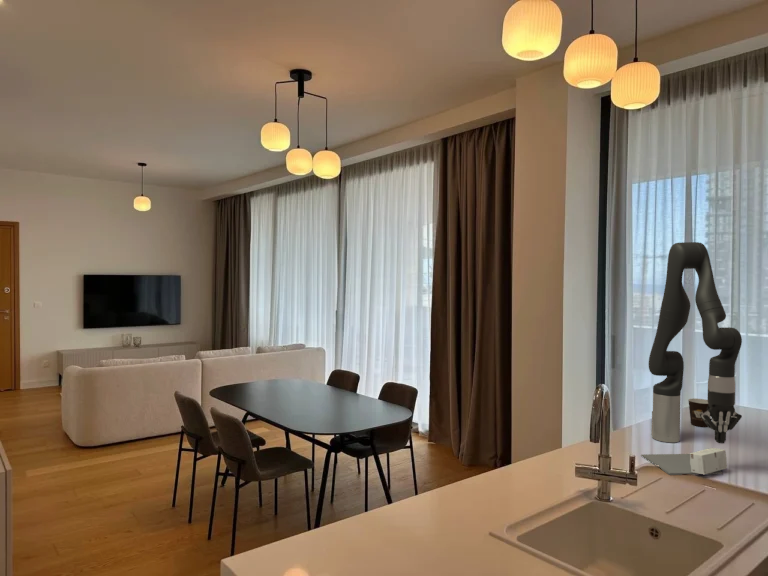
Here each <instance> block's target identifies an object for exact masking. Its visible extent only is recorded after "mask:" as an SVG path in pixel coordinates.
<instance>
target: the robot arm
mask: <svg viewBox="0 0 768 576" xmlns="http://www.w3.org/2000/svg"><path fill="white" fill-rule="evenodd" d="M689 269H691V270H692V269H693V270H695V272H696V274H697V277H698V282H697V283H698V285H697V288H696V292H695V297H694V298H695V299H694V300H695V304H696V307H697V310H698V311H697V312H698V313H699V315H700V318H701V324H702V325H701V327H702V339H703V342H704V344H705V345H706V346H707V348H709V349H711V350H715V351H716V350H720V352H719V354H718V355H715V356H712V357H710V359H709V363H708V379H707V399H706V400H707V401H708V407H707V411H706V412H705V413H704V414H703V413H701V414H700V416H701V418H702V419H703V420H704V422H705V423H706V424H707V426H708V427H707V428H708V429H711V430H713V431H714V440H715V442H716V443H717V444H725V442H726V441H727V432H728V431H732V430H733V429H734V428H735V427H736V425H737V424H738V423H739V421H740V420H741V419H742V418H743V417H742V415H741V414H739V413H737V412H736V409H735V405H736V378H735V377H736V376H735V375H736V374H735V373H736V368H735V367H736V365H735V364H736V362H737V359H738V357H739V353H740V352H741V351H740V350H741V348H742V343H743V339H742V334H741V333H740V331H739V330H738V329H737V328H735V327H729V326H728V327H719V326H718V324H719V323H722V322H723V321H725V320H726V317H727V313H726V310H725V309H724V306H723V304H722V301H721V299H720V296H719V294H718V290H717V288H716V287H717V286H716V284H715V278H714V273H713V268H712V263H711V259H710V255H709V252H708V249H707V247H706V246H705V244H703V243H702V242H699V241H698V242H697V241H693V242H691V241H688V242H685V241H684V242H676V243H674V244H673V243H672V245H671V247H670V249H669V251H668V255H667V266H666V275H665V285H664V291H663V296H662V297H663V298H662V301H661V305H660V310H659V316H658V322H657V328H656V332H655V336H654V340H653V343H652V346H651V350H650V353H649V357H648V370H649V372H650V374H651V375H652V376H659V377H663V376H664V377H665V379H663V380H661V381H660V382H658V383H655V384H654V385H653V386H652V411H651V438H652V439H654V440H656V441H659V442H664V443H678V442H680V438H681V435H680V432H681V399H682V398H681V396H682V395H681V393H682V390H683V389H682V388H683V383H684V382H683V380H684V377H683V376H684V368H685V367H684V366H685V364H684V358H683V355H682V354H681V353H680V352H679V351H676V350H668V348H669V346H670V344H671V342H672V341H673V339H674V338H675V337H676V336H677V335H678V334H679V333H681V332H682V330H683V329H684V328H685V327H686V325H687V323H688V320H689V316H690V311H691V301H690V298H689V296H688V294H687V292H686V289H685V287H684V285H683V275H684V271H685V270H689ZM711 418H712V420H711Z"/></svg>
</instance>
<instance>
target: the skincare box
mask: <svg viewBox="0 0 768 576" xmlns="http://www.w3.org/2000/svg"><path fill="white" fill-rule="evenodd" d="M689 454H690V465H691V472H693V473H698V474H703V476H706V475H705V474H708V475H710V474H709V473H712V472H716V471H722V470H726V469H727V468H728V466H727V465H728V463H727V462H728V460H727V452H726V450H725V449H722V448H718V447H717V448H715V447H710V448H707V449H701V450H698V451H694V452H690V453H689Z"/></svg>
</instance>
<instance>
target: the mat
mask: <svg viewBox="0 0 768 576" xmlns="http://www.w3.org/2000/svg"><path fill="white" fill-rule="evenodd" d="M640 456H641V457H642V456H643V457H644V458H643V457H642V458H643V459H645V458H646V459H647V460H646V459H645V460H646V461H648V460H649V461H651V462H653V463H654V464H656V465H659V467H660V468H661V469H662V470H661V469H660V468H659V469H660V470H661V471H662V472H664V473H666V474H667V475H669V476H683V475H682V474H698V473H693V472H691V465H690V453H664V454H663V453H660V454H659V453H658V454H656V453H655V454H653V453H652V454H651V453H650V454H648V453H647V454H641V455H640ZM649 461H648V462H649ZM651 462H650V463H651ZM654 464H653V465H654ZM708 475H723V471H722V470H719V471H716V472H712V473H709V474H708Z"/></svg>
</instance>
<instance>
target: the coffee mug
mask: <svg viewBox="0 0 768 576" xmlns="http://www.w3.org/2000/svg"><path fill="white" fill-rule="evenodd" d="M707 400H708V399H703V398H695V397H694V398H689V399H688V408H689V417H690V424H691V426H693V427H696V428H709V427H708V426H707V424H706V423H705V422H704V420H703V419H702V418H701V416H700V414H701V413H703V414H704V413H705V412H706V411H707V407H708V401H707ZM710 419H711V421H712V417H711V418H710Z"/></svg>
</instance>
